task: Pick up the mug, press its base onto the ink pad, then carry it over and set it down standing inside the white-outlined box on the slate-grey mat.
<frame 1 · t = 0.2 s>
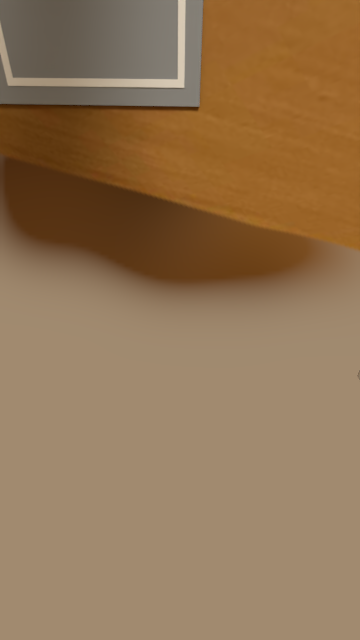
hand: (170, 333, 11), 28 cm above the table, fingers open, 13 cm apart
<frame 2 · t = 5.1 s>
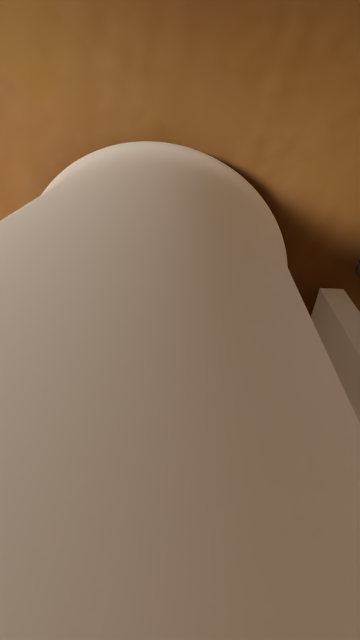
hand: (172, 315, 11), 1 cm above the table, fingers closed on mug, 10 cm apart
mug: (190, 308, 12), on the table, touching gripper
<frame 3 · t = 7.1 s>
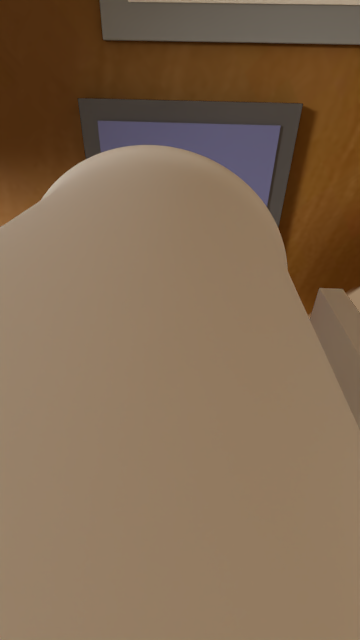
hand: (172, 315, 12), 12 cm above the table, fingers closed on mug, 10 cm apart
mug: (190, 310, 12), point 12 cm above the table, touching gripper
ink pad: (186, 209, 22), on the table
when the fingers open (2 cm above the table, at t = 8.8 s): mug stays where it is, resting on ink pad.
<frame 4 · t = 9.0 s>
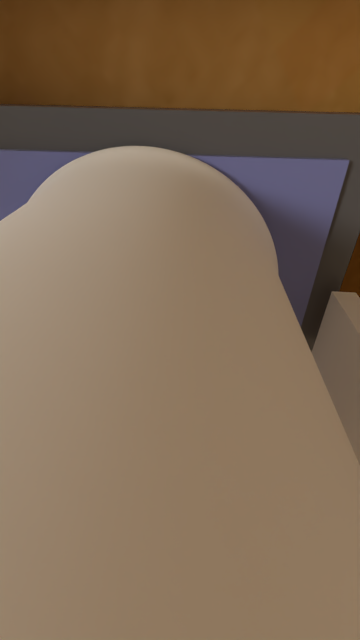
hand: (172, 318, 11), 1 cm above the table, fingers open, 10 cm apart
mug: (181, 312, 12), point 1 cm above the table, touching ink pad
ink pad: (164, 293, 13), on the table
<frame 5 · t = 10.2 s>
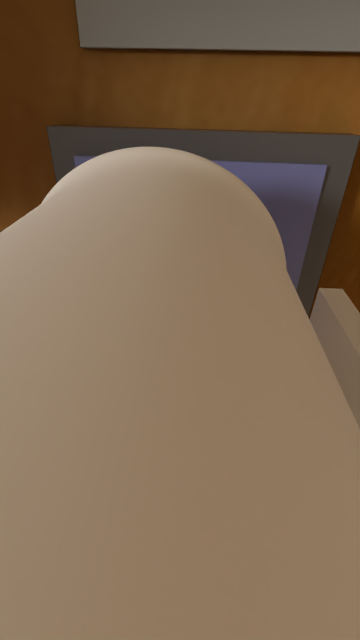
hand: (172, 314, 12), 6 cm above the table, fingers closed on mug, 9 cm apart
mug: (190, 310, 12), point 5 cm above the table, touching gripper
ink pad: (193, 265, 17), on the table
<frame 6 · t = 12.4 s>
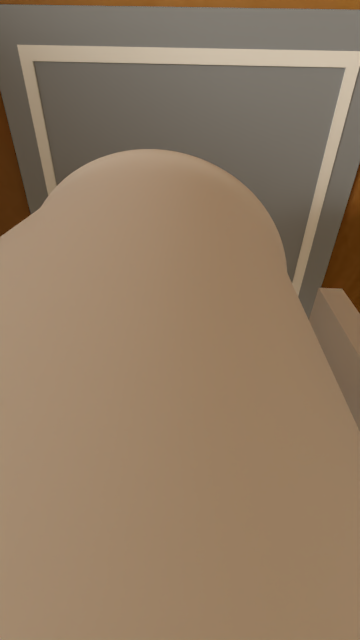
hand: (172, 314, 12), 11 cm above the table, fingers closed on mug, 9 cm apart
mug: (190, 312, 12), point 10 cm above the table, touching gripper
print mat: (183, 218, 20), on the table
when the fingers open (1 cm above the table, at t = 14.4 s): mug stays where it is, resting on print mat.
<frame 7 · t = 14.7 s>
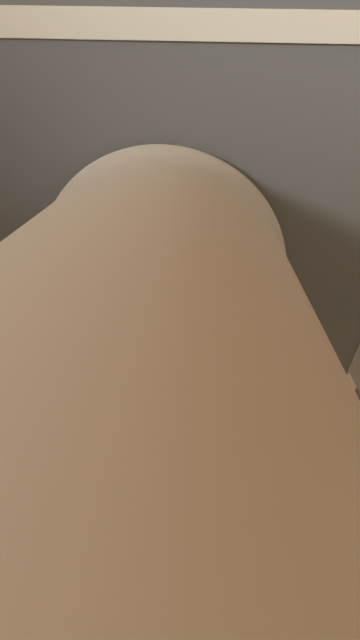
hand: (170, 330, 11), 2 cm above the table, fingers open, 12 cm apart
mug: (193, 300, 13), resting on print mat
print mat: (175, 294, 13), on the table
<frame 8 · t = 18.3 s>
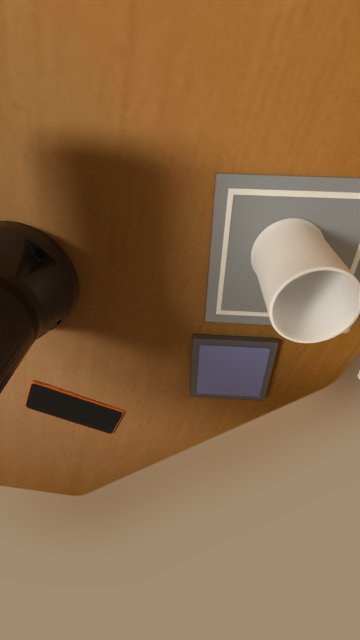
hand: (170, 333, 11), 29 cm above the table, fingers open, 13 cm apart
mug: (294, 262, 39), resting on print mat
ink pad: (230, 366, 50), on the table
smartphone: (75, 405, 58), on the table
print mat: (288, 260, 39), on the table
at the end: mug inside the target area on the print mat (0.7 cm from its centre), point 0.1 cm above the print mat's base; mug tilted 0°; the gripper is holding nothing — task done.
